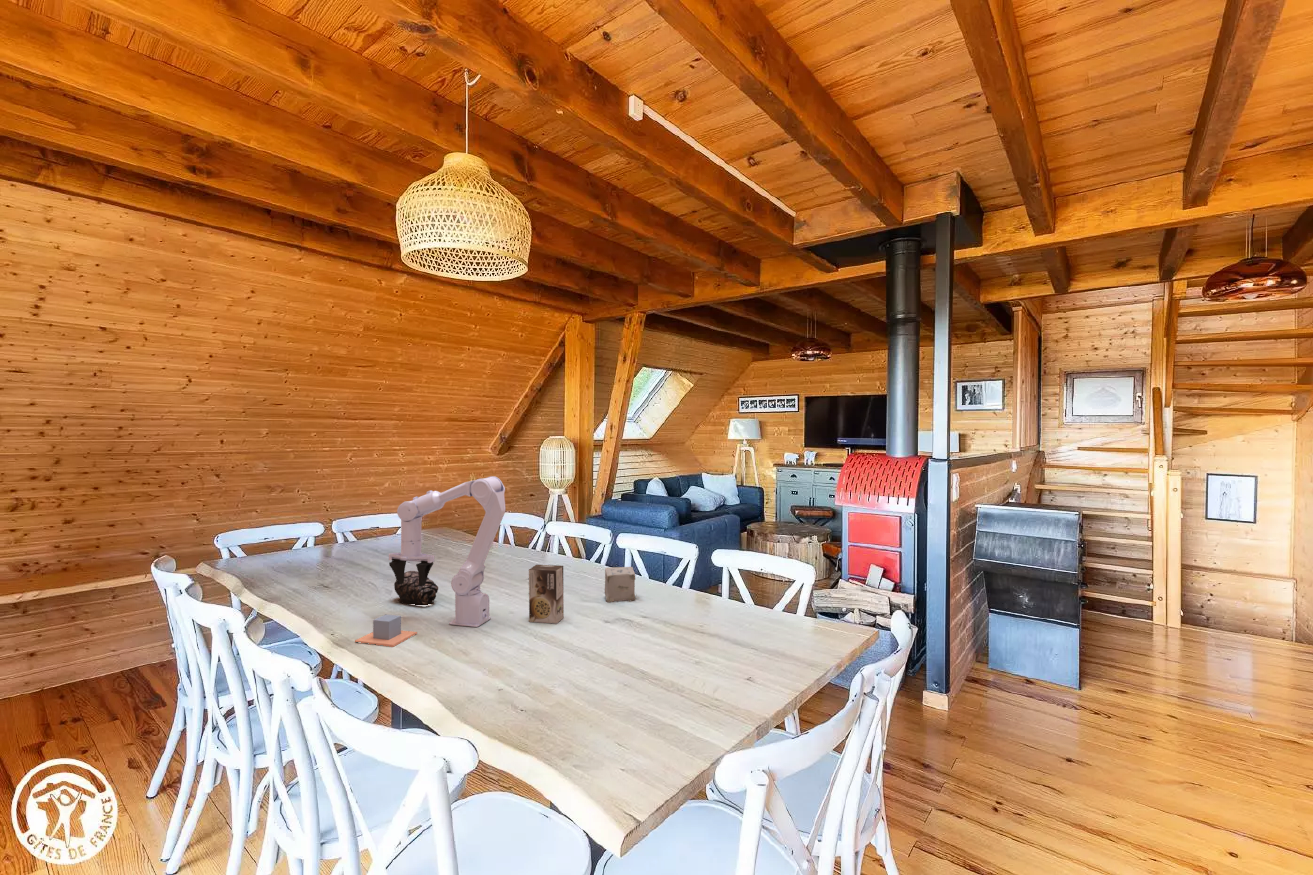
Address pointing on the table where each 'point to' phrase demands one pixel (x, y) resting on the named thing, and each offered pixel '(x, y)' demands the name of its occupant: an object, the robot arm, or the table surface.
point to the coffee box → (546, 594)
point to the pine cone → (415, 590)
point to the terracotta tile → (390, 643)
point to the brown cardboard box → (619, 584)
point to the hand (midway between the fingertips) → (411, 584)
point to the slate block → (386, 627)
